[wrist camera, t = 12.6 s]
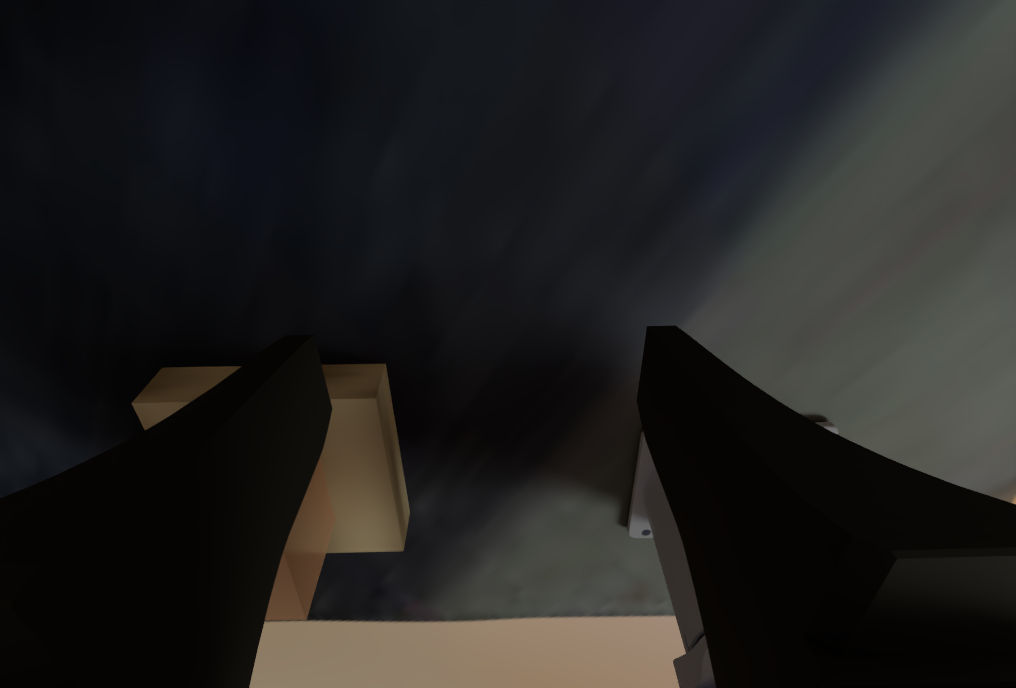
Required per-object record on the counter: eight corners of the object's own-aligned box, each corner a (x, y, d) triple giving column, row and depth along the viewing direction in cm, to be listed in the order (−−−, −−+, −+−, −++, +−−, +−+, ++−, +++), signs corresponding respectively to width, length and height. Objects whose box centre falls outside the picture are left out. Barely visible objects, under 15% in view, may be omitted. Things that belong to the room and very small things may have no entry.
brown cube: (317, 447, 24) (281, 545, 20) (335, 520, 27) (306, 619, 23) (206, 448, 24) (146, 546, 20) (235, 521, 27) (187, 621, 22)
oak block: (387, 357, 25) (375, 398, 23) (411, 504, 31) (403, 551, 28) (167, 361, 25) (131, 403, 23) (230, 508, 31) (207, 555, 28)
